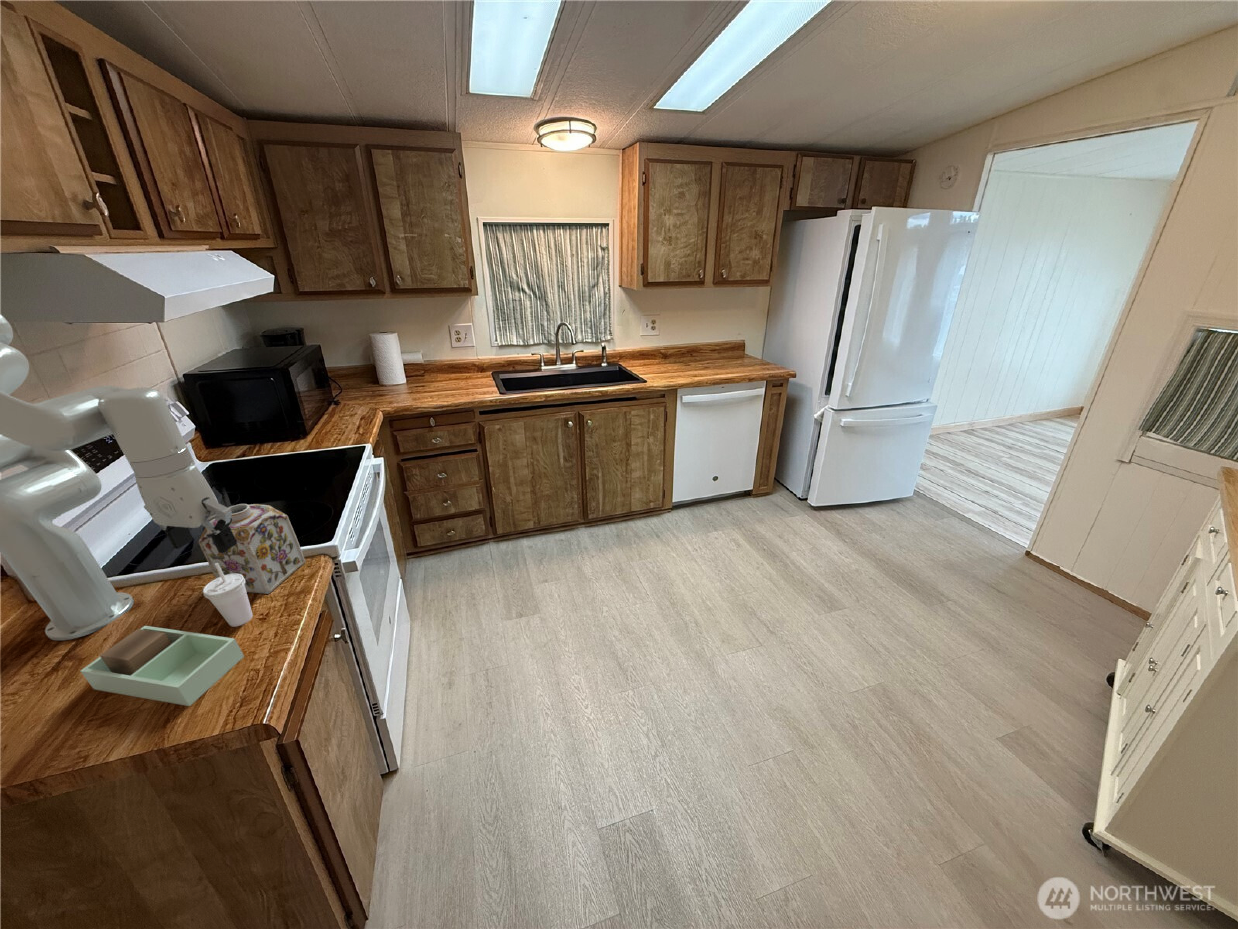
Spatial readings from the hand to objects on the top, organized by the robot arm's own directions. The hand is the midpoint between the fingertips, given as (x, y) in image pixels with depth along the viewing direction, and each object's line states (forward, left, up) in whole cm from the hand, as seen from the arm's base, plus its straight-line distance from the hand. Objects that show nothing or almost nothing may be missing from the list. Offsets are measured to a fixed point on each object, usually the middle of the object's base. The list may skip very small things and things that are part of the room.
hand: (206, 546), depth 87 cm
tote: (-1, -13, -18) cm, 23 cm away
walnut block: (-6, -13, -18) cm, 23 cm away
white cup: (0, 0, -19) cm, 19 cm away
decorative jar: (-7, +13, -19) cm, 24 cm away
